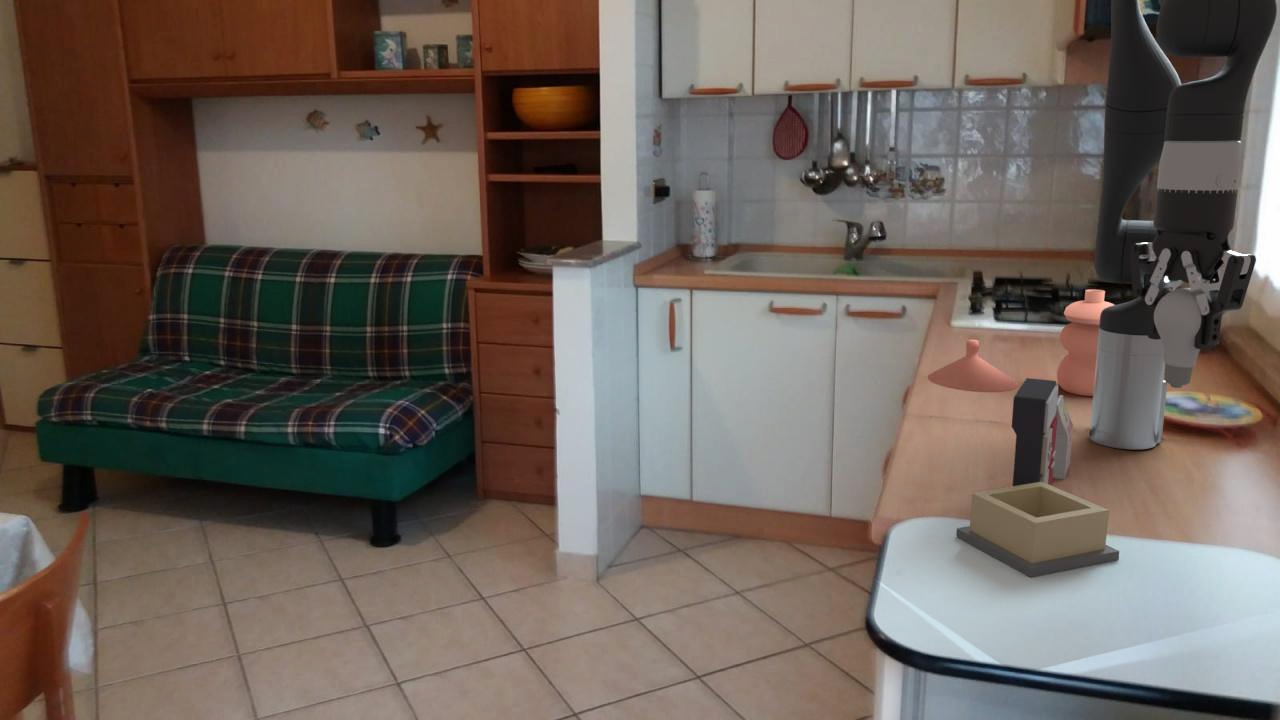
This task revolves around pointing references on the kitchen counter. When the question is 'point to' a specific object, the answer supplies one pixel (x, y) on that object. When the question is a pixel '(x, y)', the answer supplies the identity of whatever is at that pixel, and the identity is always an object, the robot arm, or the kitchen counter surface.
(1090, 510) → the bulb holder
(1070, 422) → the grey block
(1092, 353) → the ceramic vessels
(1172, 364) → the lightbulb
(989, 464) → the kitchen counter surface
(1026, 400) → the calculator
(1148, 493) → the kitchen counter surface
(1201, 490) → the kitchen counter surface
